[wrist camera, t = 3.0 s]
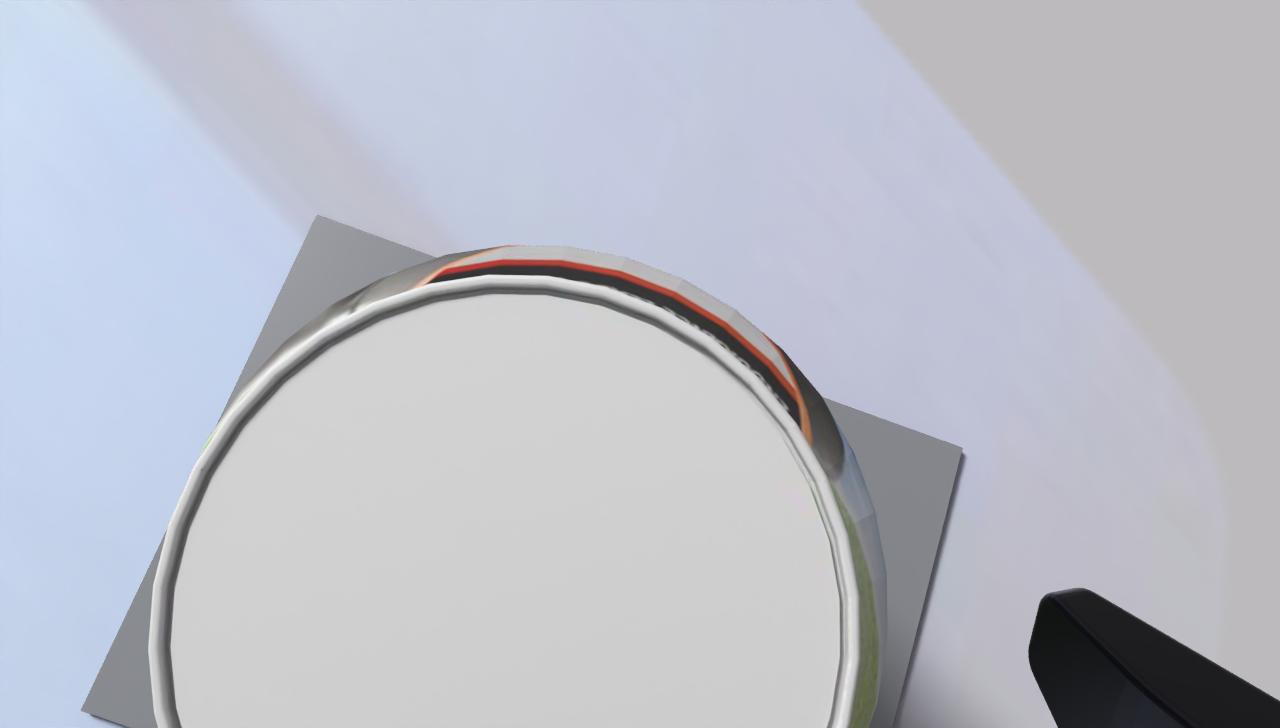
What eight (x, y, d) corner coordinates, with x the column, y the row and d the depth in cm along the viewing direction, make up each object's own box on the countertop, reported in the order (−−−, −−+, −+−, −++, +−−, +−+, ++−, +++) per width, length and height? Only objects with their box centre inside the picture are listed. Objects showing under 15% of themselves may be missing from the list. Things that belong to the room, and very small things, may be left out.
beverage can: (783, 471, 19) (1175, 263, 7) (618, 837, 17) (792, 1348, 5) (502, 329, 19) (445, -101, 7) (306, 676, 17) (-186, 835, 5)
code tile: (959, 449, 20) (964, 447, 19) (828, 969, 17) (831, 975, 17) (318, 217, 19) (316, 212, 19) (84, 709, 17) (79, 711, 16)
